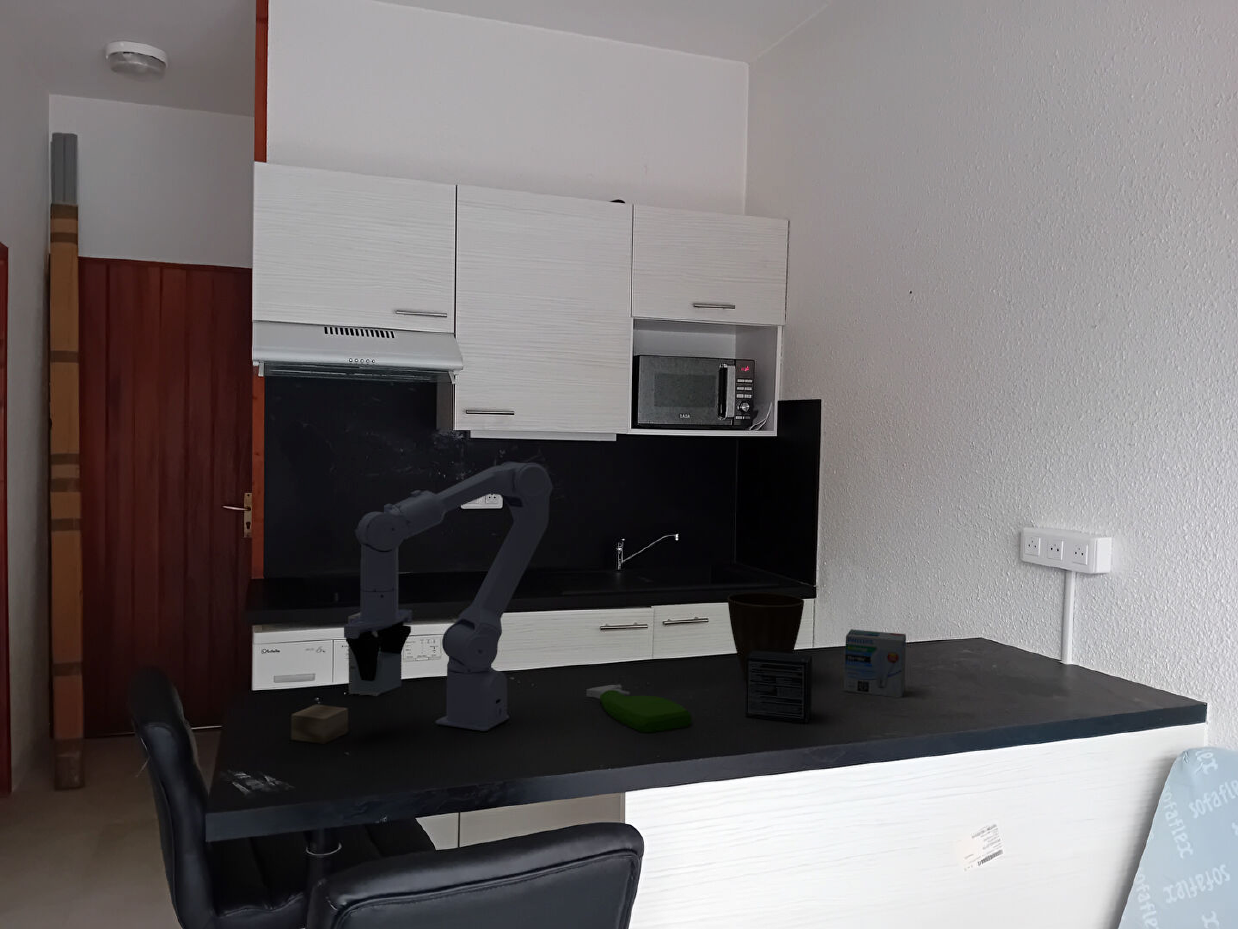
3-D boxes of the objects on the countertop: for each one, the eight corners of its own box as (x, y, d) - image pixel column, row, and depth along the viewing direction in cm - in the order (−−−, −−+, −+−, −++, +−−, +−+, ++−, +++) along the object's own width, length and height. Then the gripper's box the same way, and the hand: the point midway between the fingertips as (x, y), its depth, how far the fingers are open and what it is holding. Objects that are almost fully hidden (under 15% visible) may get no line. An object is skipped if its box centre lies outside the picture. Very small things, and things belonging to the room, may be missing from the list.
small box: (812, 714, 159) (813, 653, 159) (807, 725, 153) (808, 661, 153) (751, 707, 163) (752, 648, 162) (744, 718, 156) (745, 656, 156)
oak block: (347, 733, 146) (348, 708, 146) (324, 745, 140) (324, 719, 140) (316, 729, 148) (316, 704, 147) (291, 740, 142) (291, 714, 142)
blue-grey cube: (401, 685, 146) (401, 654, 146) (381, 693, 141) (382, 660, 141) (375, 682, 148) (375, 651, 147) (355, 689, 143) (355, 657, 143)
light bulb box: (843, 692, 174) (844, 634, 174) (848, 683, 180) (849, 628, 180) (902, 698, 170) (903, 640, 170) (905, 689, 176) (906, 633, 176)
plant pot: (817, 679, 183) (818, 598, 182) (776, 694, 172) (778, 608, 171) (753, 666, 193) (754, 590, 192) (711, 679, 181) (712, 598, 181)
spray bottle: (640, 737, 146) (573, 701, 168) (697, 728, 152) (625, 693, 173) (640, 719, 146) (573, 684, 168) (697, 710, 152) (625, 678, 173)
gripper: (386, 581, 152) (386, 663, 152) (327, 594, 139) (327, 684, 139) (422, 584, 149) (422, 667, 150) (366, 597, 136) (365, 689, 136)
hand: (379, 676), depth 144 cm, fingers closed on blue-grey cube, 5 cm apart
